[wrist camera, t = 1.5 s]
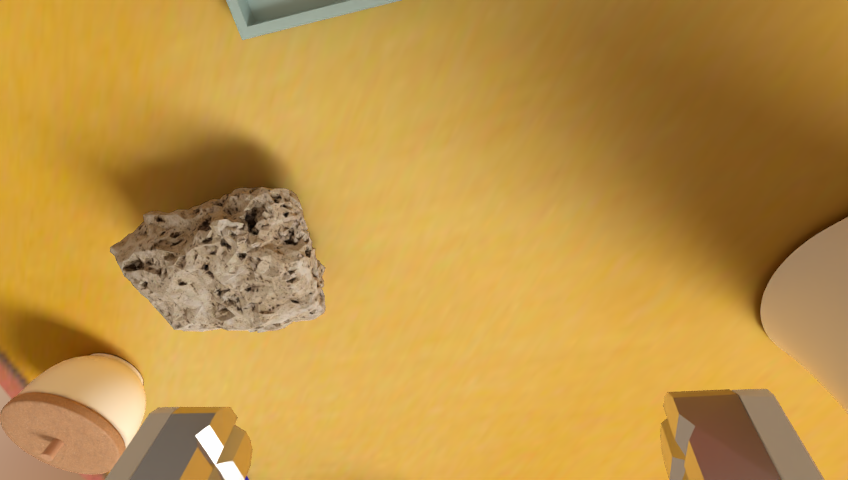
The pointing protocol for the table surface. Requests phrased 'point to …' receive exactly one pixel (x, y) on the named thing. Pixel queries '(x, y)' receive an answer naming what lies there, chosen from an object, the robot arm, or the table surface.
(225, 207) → the pumice stone
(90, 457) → the lidded jar
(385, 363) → the table surface
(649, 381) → the table surface
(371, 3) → the tray
